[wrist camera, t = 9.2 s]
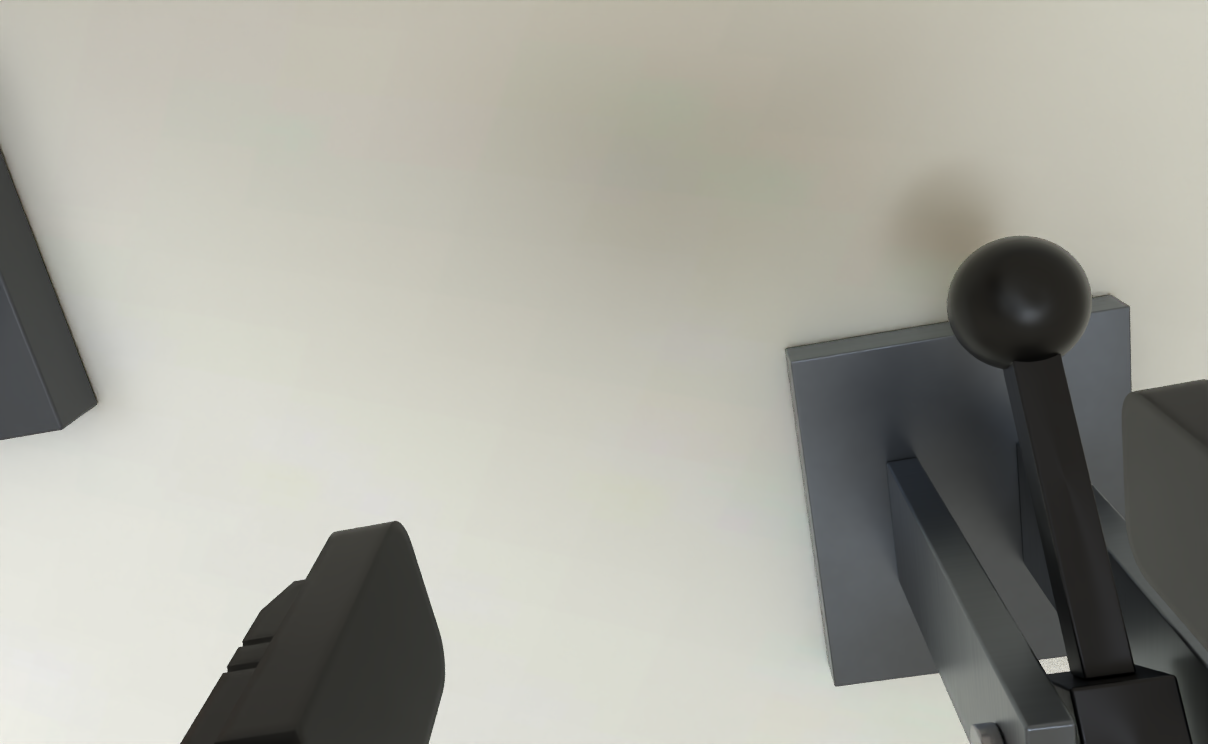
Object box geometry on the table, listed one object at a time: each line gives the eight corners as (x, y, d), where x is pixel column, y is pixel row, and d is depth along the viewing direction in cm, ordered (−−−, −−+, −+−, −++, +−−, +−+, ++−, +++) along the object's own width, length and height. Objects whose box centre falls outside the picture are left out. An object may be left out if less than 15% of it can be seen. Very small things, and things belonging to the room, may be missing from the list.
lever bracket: (784, 348, 32) (878, 582, 19) (1111, 294, 31) (1445, 501, 18) (828, 664, 36) (931, 1035, 23) (1119, 625, 35) (1398, 990, 22)
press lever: (924, 269, 26) (949, 231, 23) (1050, 248, 26) (1094, 205, 23) (1037, 799, 24) (1082, 836, 21) (1179, 782, 23) (1247, 817, 20)
